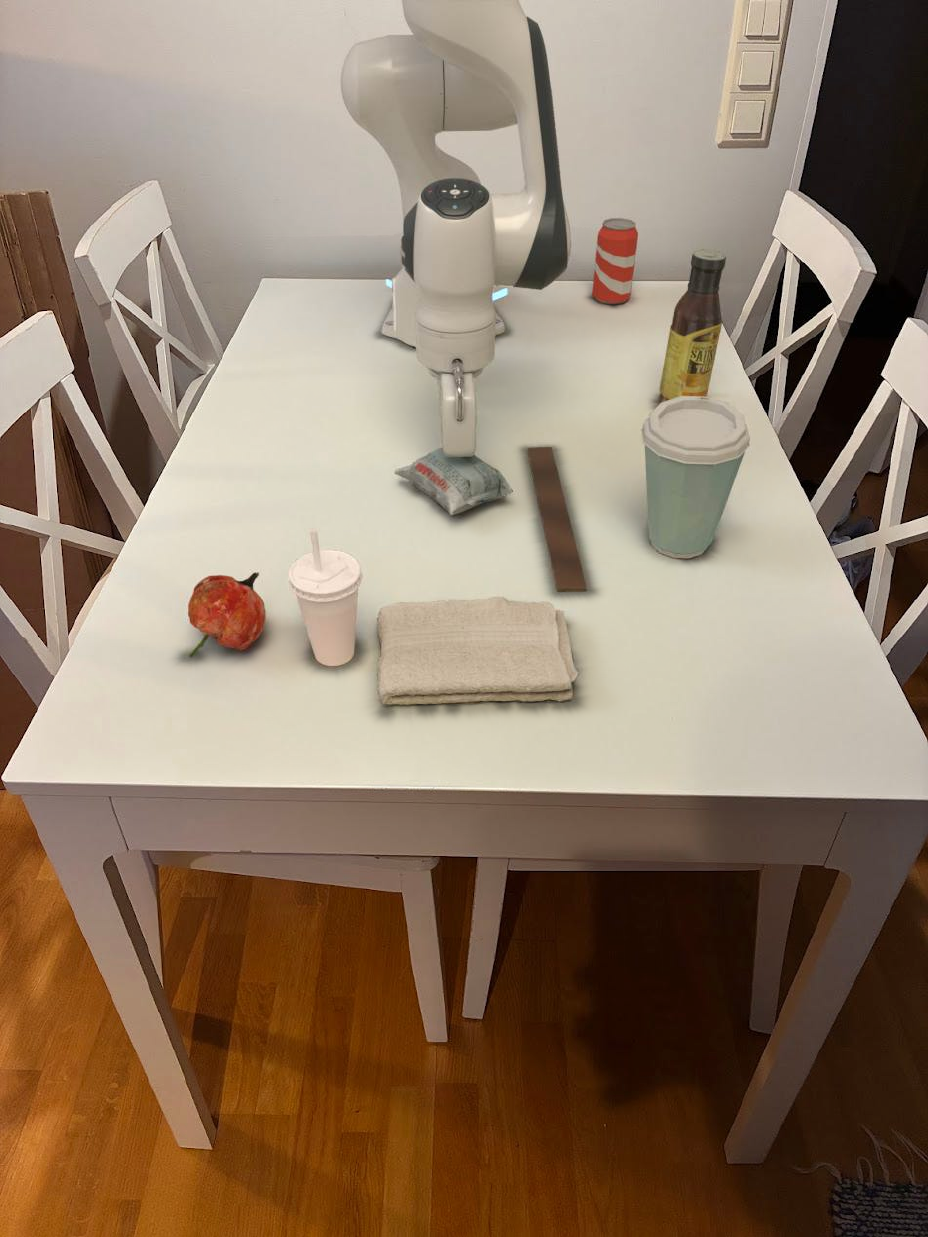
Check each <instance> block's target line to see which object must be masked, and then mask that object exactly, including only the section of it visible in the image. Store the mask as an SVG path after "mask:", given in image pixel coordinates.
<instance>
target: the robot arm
mask: <svg viewBox="0 0 928 1237" xmlns="http://www.w3.org/2000/svg"><path fill="white" fill-rule="evenodd" d="M401 5H402V12H403V16H404V20H405V22H406V25H407V27H408V28H409V30H410V32H411V33H412V34H388V35H387V34H386V35H383V36H379V37H374V38H370V39H366V40H364V41H359V42H356V43H355V44H353V45H352V47H350V49H349V51H348V52H347V54H346V56H345V58H344V61H343V64H342V68H341V72H340V92H341V96H342V100H343V103H344V106H345V108H346V110H347V112H348V114H349V115H350V117H351V119H353V121H354V122H355V123H356V124H357V125H358V126H359V127H360V128H362V129H363V130H364V131H366V132H367V133H368V134H369V135H370V136H372V137H373V139H375V141H376V142H378V144H379V145H380V147H382V149H383V150H384V152H385V153H386V155H387V156H388V158H389V160H390V161H391V164H392V166H393V168H394V172H395V173H396V176H397V181H398V185H399V191H400V199H401V208H402V220H403V222H402V225H403V226H402V228H403V229H402V230H403V231H402V232H403V235H402V236H401V239H400V241H401V242H400V244H401V245H400V255H401V264H402V267H401V270H399V271H398V273H396V275H395V276H393V277H392V278H391V280H390V279H388V278H387V279H385V285H386V286H387V287H389V288H390V289H391V292H392V302H391V308H390V309H389V312H388V314H387V316H386V318H385V319H384V322H383V324H382V325H381V334H382V335H383V336H385V337H389V338H394V339H397V340H399V341H400V342H403V343H404V344H406V345H409V346H411V347H414V348H415V357H416V359H417V361H418V363H419V364H420V365H422V366H423V367H425V368H427V372H428V374H429V375H430V376H431V377H433V378H435V379H436V380H437V387H438V400H439V402H438V403H439V415H440V430H441V444H442V447H443V453H444V455H445V456H446V457H471V456H473V455H476V451H477V395H476V387H475V379H476V378H478V377H479V376H481V375H482V374H483V372H484V368H486V367H488V365H490V364H491V363H493V361H494V359H495V355H496V351H495V350H496V336H498V335H501V334H504V333H505V332H506V325H505V323H504V321H503V320H502V318H501V317H500V315H499V314H498V313H497V312H496V308H495V303H494V301H497V300H499V299H500V298H503V297H506V296H508V288H506V286H507V287H513V288H518V289H527V290H528V289H529V290H537V291H538V290H539V291H542V290H544V289H545V288H547V287H548V286H550V285H551V284H553V283H554V282H555V281H556V280H557V279H559V277H560V276H561V275H562V274H563V273H564V272H565V271H566V270H567V269H568V263H569V261H570V256H571V250H572V232H571V224H570V221H569V217H568V212H567V209H566V204H565V201H564V197H563V186H562V178H561V168H560V167H561V166H560V156H559V146H558V136H557V129H556V116H555V109H554V108H555V107H554V96H553V90H552V84H551V77H550V69H549V68H550V67H549V61H548V54H547V48H546V44H545V40H544V37H543V33H542V30H541V28H540V25H539V22H537V21H535V20H534V19H532V18H530V17H529V16H527V15H526V14H525V12H524V10H523V7H522V5H521V2H520V0H401ZM516 125H517V130H518V132H517V133H518V139H519V146H520V147H519V148H520V156H521V163H522V164H521V165H522V171H523V180H524V185H523V188H522V189H521V190H520V191H518V192H515V193H491V192H490V191H489V189H488V188H486V187H485V186H484V185H482V183H481V180H480V178H479V176H478V174H477V173H476V171H475V170H474V169H473V168H472V167H470V165H468V164H467V163H466V162H464V161H462V160H460V159H458V158H457V157H454V156H452V155H450V154H448V153H447V152H445V151H443V149H441V148H440V147H439V145H437V143H436V136H437V135H438V134H439V133H443V132H489V131H497V130H499V129H503V128H504V129H505V128H508V127H512V126H516ZM498 286H500V287H501V286H502V287H503V286H505V288H503V289H501V290H498V291H496V292H494V289H495V287H498Z"/></svg>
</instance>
